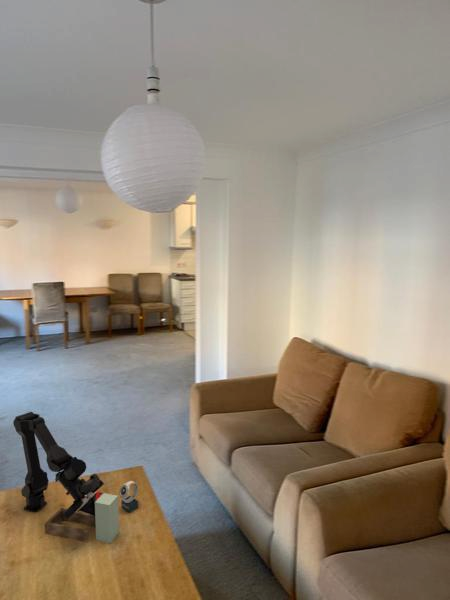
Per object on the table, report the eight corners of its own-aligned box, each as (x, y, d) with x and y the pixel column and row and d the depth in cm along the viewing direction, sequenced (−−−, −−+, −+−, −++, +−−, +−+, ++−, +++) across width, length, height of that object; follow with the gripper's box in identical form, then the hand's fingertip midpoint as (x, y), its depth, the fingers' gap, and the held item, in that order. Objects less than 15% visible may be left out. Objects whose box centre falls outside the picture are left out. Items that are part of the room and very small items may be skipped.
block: (96, 540, 157) (94, 502, 155) (104, 529, 163) (103, 493, 161) (110, 543, 156) (109, 505, 154) (119, 532, 162) (117, 495, 160)
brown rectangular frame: (45, 533, 161) (44, 523, 160) (61, 517, 171) (61, 507, 170) (87, 542, 156) (86, 532, 156) (101, 525, 166) (101, 515, 165)
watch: (117, 509, 176) (116, 484, 174) (133, 500, 182) (132, 476, 180) (125, 515, 172) (125, 489, 171) (141, 506, 178) (141, 481, 177)
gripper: (69, 485, 150) (98, 520, 148) (98, 459, 167) (125, 490, 166) (51, 502, 153) (79, 536, 151) (82, 475, 171) (107, 505, 169)
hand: (99, 516), depth 159 cm, fingers closed, pressing on block
